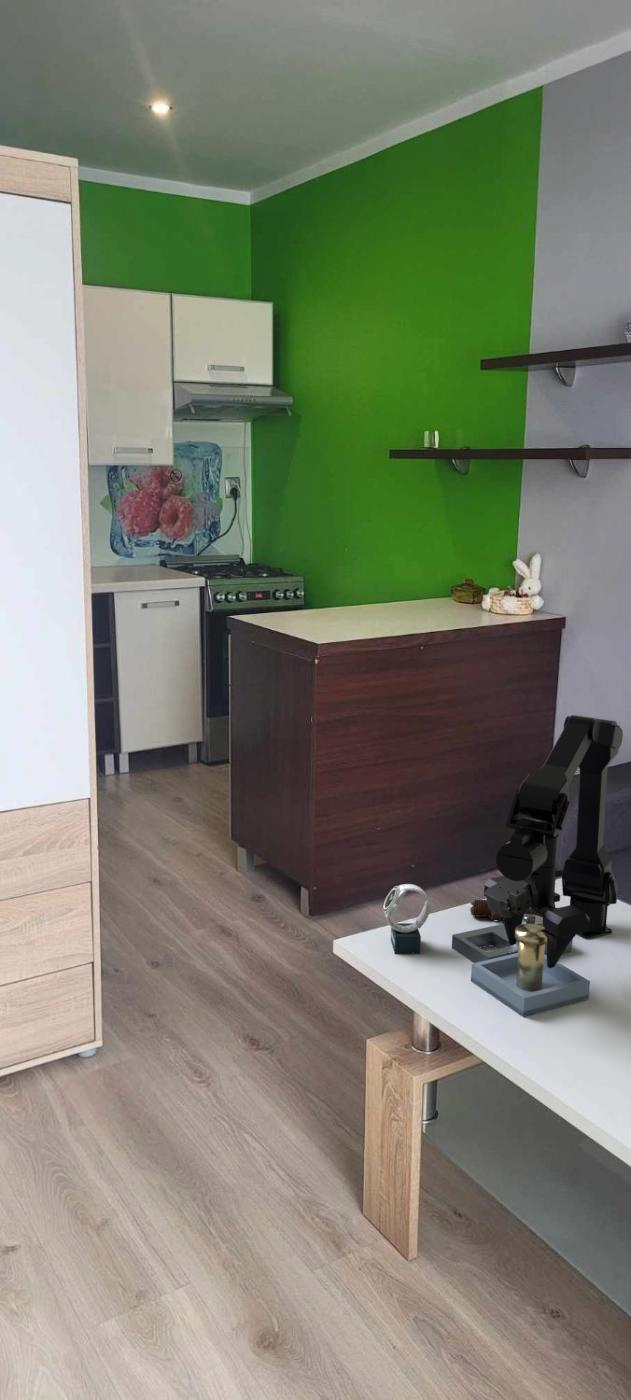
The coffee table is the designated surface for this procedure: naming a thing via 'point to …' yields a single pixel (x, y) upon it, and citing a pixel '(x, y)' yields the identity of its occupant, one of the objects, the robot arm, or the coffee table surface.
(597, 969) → the coffee table surface
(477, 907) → the bolt
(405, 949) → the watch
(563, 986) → the tray
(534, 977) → the pin
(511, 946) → the block
